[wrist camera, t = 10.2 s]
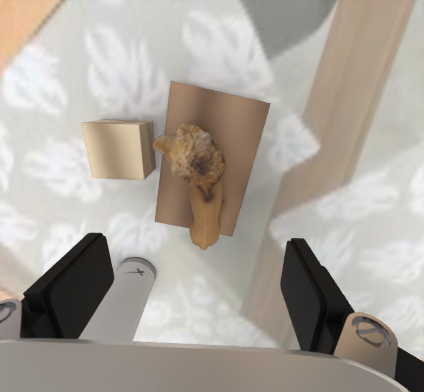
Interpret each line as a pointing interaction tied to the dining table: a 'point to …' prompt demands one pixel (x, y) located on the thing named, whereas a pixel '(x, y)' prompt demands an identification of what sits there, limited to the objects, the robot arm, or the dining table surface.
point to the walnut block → (228, 141)
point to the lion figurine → (198, 178)
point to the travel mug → (122, 303)
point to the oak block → (120, 149)
